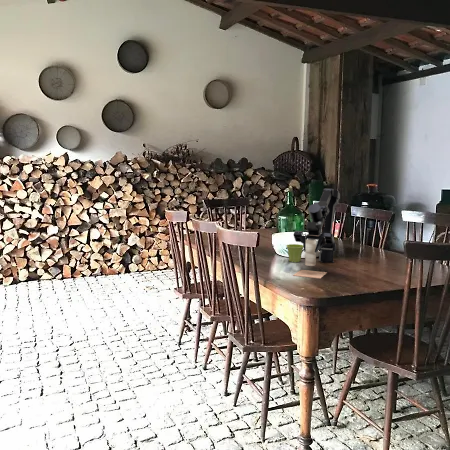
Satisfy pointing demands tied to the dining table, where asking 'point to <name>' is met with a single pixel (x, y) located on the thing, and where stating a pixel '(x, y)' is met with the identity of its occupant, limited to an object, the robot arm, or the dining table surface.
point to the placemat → (310, 274)
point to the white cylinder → (310, 252)
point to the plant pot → (294, 252)
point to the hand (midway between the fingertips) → (309, 251)
